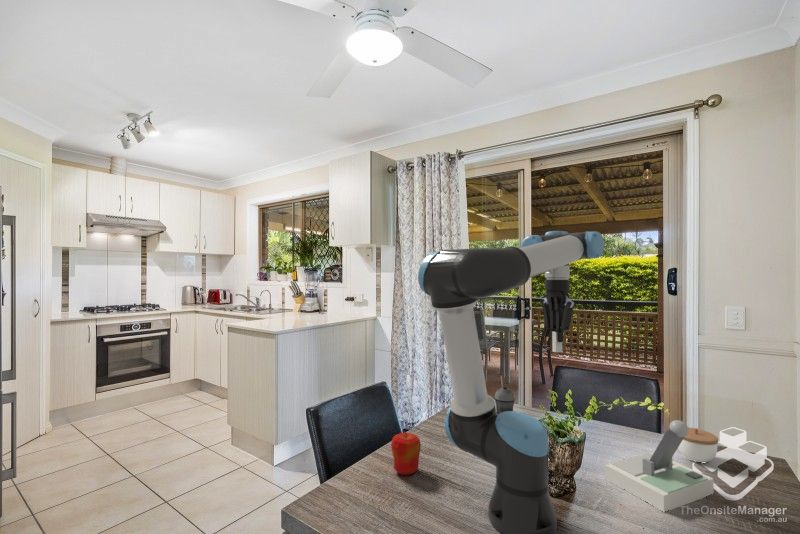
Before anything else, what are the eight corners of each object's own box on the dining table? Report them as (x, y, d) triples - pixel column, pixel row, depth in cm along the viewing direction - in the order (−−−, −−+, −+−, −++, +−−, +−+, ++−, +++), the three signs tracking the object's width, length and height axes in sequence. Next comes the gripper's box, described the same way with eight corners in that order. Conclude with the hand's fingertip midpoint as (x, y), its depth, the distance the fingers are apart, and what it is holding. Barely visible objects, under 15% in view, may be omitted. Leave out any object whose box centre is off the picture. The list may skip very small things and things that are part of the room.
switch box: (605, 479, 107) (605, 452, 107) (652, 465, 115) (652, 440, 115) (663, 512, 92) (663, 480, 92) (713, 494, 100) (713, 464, 100)
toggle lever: (642, 462, 105) (668, 418, 99) (655, 459, 107) (681, 415, 100) (656, 475, 101) (683, 430, 95) (668, 471, 103) (696, 427, 97)
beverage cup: (517, 434, 136) (517, 378, 137) (497, 434, 136) (496, 378, 137) (511, 426, 144) (511, 373, 144) (492, 426, 144) (492, 373, 144)
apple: (397, 482, 105) (397, 439, 105) (386, 467, 113) (387, 427, 113) (425, 476, 108) (425, 434, 109) (413, 462, 116) (413, 423, 116)
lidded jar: (678, 447, 127) (678, 419, 127) (720, 458, 119) (720, 428, 119) (671, 458, 119) (671, 428, 119) (715, 471, 111) (715, 439, 112)
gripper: (533, 278, 128) (533, 348, 128) (564, 279, 116) (564, 356, 116) (550, 278, 131) (551, 347, 131) (582, 279, 119) (582, 354, 119)
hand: (557, 351), depth 124 cm, fingers closed
